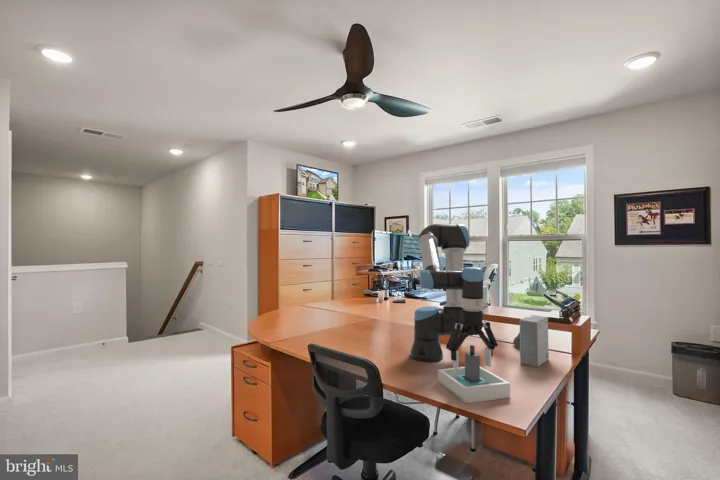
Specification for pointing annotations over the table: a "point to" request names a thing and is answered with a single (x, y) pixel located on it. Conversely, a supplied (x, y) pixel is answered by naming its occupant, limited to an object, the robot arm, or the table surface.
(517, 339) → the mineral rock
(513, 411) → the table surface
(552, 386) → the table surface
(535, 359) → the hard drive box
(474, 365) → the connector plug
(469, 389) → the walled box
